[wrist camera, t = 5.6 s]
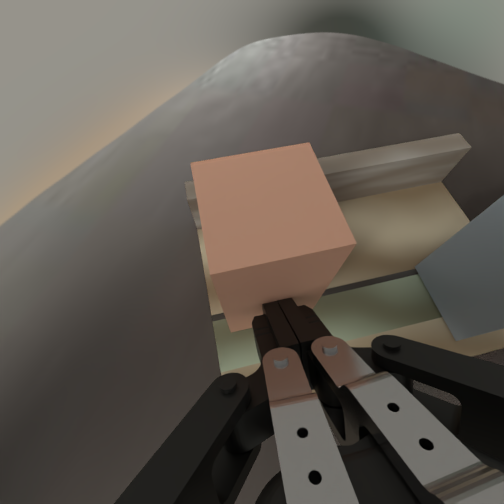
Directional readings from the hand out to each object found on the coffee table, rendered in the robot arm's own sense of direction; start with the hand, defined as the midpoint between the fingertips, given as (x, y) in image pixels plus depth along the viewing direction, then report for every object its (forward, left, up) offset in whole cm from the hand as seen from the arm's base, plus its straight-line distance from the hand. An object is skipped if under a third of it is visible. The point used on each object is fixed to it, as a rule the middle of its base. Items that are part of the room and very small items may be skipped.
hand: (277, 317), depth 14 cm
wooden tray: (+5, +4, -4) cm, 8 cm away
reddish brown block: (-1, +3, -4) cm, 5 cm away
